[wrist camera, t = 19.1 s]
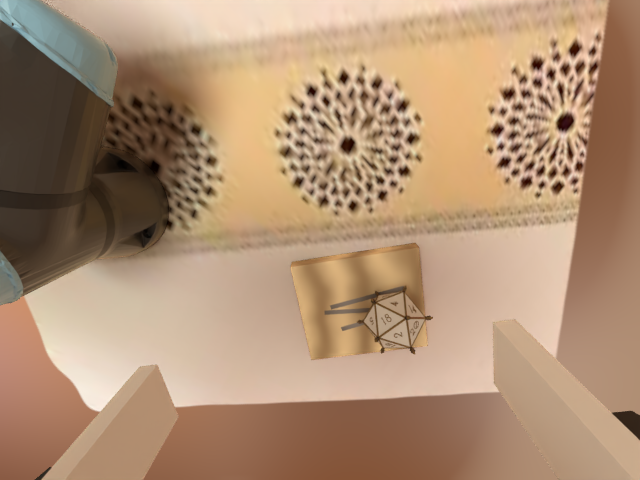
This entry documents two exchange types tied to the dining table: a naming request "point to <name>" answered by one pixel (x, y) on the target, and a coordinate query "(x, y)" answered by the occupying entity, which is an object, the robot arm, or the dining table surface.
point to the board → (353, 296)
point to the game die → (394, 320)
